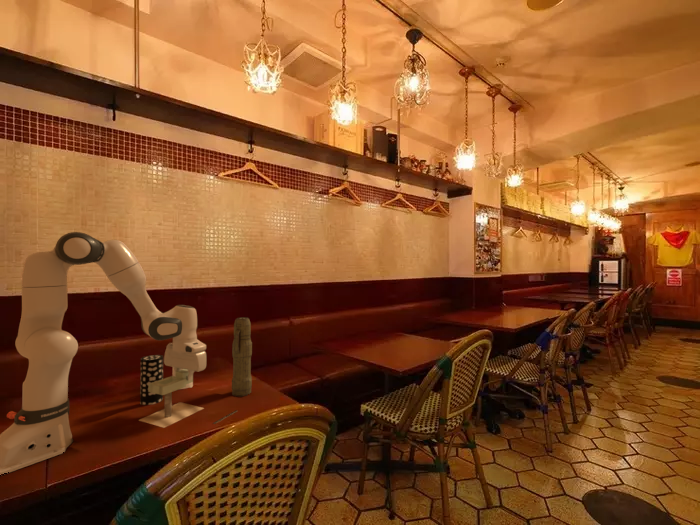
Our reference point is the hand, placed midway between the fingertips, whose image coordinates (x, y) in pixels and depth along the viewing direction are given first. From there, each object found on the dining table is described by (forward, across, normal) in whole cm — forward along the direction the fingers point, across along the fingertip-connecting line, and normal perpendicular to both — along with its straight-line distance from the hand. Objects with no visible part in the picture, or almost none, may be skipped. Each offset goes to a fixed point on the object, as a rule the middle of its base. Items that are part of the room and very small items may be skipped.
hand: (184, 379), depth 137 cm
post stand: (+14, 0, -5) cm, 15 cm away
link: (+2, 0, -5) cm, 5 cm away
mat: (+13, +14, +4) cm, 20 cm away
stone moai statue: (+13, +7, +26) cm, 30 cm away
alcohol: (+14, -22, +18) cm, 31 cm away
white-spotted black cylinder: (+14, -19, 0) cm, 23 cm away
